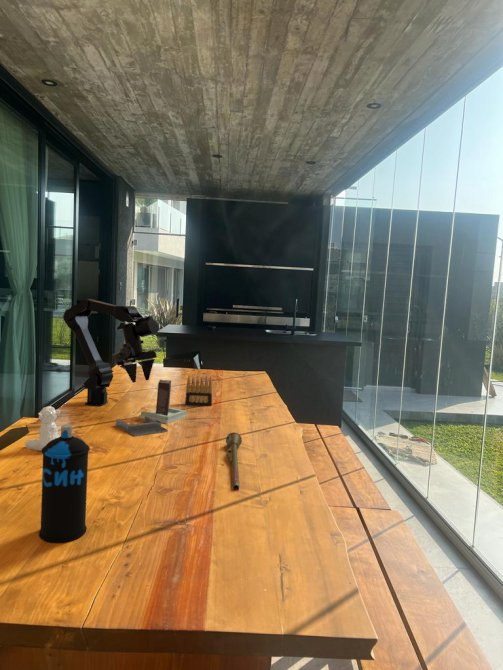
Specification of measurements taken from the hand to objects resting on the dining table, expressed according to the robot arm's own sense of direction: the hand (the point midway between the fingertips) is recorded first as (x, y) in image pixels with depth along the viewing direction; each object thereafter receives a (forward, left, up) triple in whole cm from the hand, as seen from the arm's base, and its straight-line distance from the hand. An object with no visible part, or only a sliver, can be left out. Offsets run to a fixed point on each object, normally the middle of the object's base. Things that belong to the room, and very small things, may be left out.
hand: (140, 381), depth 179 cm
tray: (+11, -3, -11) cm, 16 cm away
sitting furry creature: (-6, -47, -12) cm, 49 cm away
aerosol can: (+23, -87, -12) cm, 91 cm away
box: (+10, -3, -11) cm, 15 cm away
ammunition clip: (+17, +21, -12) cm, 29 cm away
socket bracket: (+9, -20, -11) cm, 24 cm away
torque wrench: (+45, -41, -12) cm, 62 cm away
